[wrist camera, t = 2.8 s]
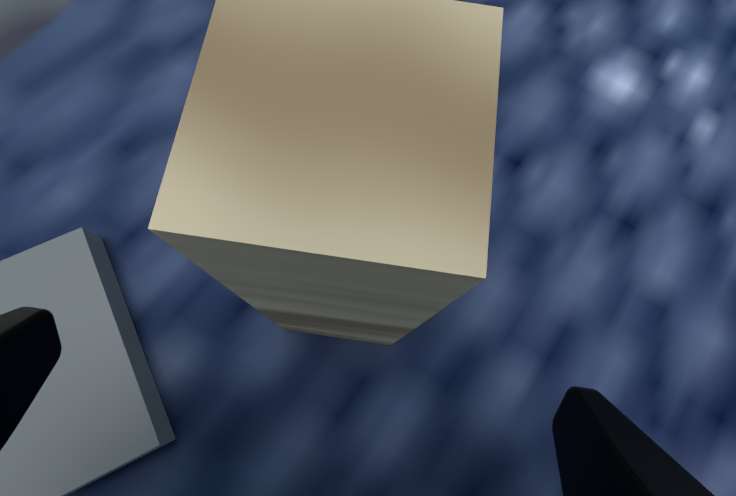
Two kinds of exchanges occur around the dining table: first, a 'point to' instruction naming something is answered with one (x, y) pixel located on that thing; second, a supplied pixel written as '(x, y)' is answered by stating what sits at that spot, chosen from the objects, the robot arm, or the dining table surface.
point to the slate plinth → (79, 373)
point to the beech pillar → (338, 160)
